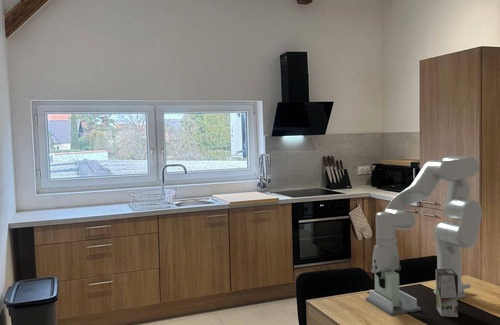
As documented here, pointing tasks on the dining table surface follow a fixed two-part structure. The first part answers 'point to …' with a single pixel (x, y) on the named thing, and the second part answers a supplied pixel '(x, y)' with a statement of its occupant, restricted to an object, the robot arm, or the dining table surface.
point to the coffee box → (447, 292)
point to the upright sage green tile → (389, 287)
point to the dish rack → (386, 305)
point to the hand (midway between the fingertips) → (386, 286)
